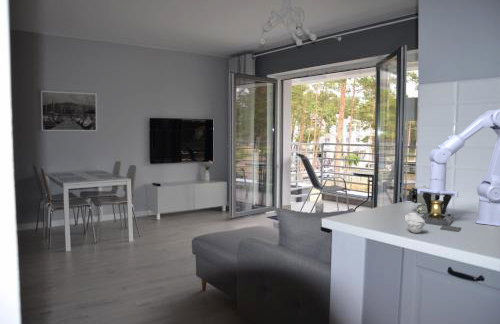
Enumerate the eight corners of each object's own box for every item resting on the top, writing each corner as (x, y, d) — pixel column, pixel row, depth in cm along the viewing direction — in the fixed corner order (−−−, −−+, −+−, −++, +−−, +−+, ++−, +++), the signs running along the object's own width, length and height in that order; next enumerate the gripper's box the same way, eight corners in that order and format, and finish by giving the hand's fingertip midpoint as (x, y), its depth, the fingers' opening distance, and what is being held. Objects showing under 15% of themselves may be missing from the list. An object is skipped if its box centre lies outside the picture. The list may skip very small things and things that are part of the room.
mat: (461, 228, 144) (461, 227, 143) (458, 231, 139) (458, 230, 139) (443, 226, 147) (443, 225, 147) (440, 229, 142) (440, 228, 142)
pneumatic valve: (439, 214, 168) (440, 186, 167) (411, 214, 168) (412, 186, 168) (433, 211, 174) (434, 185, 173) (406, 211, 174) (408, 184, 173)
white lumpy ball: (409, 229, 142) (409, 210, 141) (428, 233, 137) (429, 213, 136) (400, 232, 138) (401, 212, 137) (420, 236, 133) (421, 215, 132)
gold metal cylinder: (444, 219, 156) (444, 200, 155) (441, 221, 152) (442, 202, 151) (430, 217, 159) (431, 199, 158) (427, 220, 155) (428, 201, 154)
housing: (426, 216, 164) (427, 210, 163) (453, 219, 158) (453, 213, 158) (419, 222, 152) (419, 216, 152) (447, 226, 147) (448, 220, 146)
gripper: (416, 178, 155) (414, 212, 156) (457, 181, 146) (455, 217, 148) (420, 177, 161) (418, 209, 162) (459, 179, 152) (457, 214, 153)
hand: (436, 213), depth 155 cm, fingers closed on gold metal cylinder, 5 cm apart
